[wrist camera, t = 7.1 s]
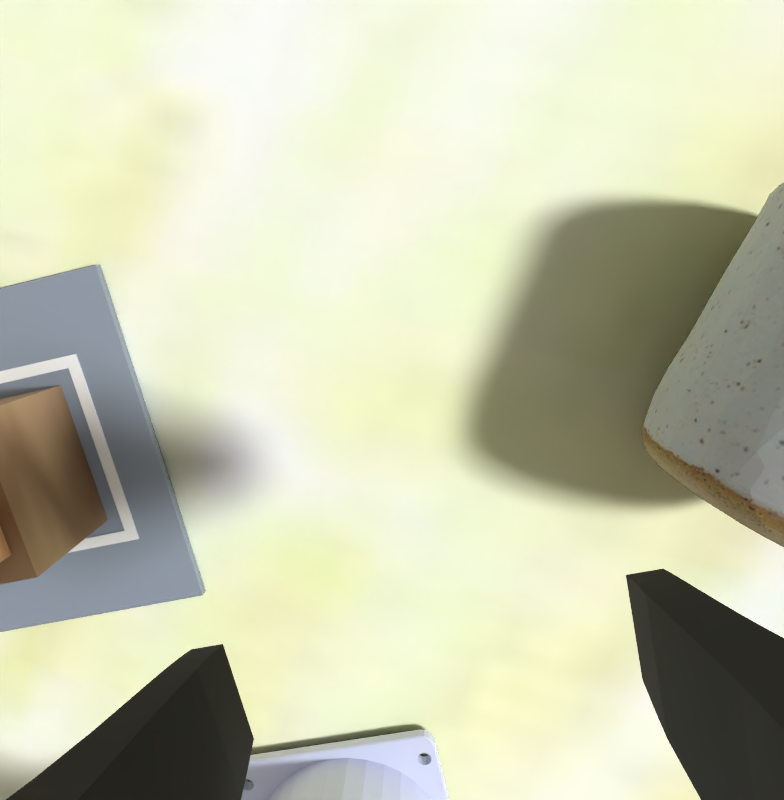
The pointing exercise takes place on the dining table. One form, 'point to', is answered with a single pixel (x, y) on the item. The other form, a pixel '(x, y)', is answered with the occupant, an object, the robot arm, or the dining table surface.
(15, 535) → the walnut block
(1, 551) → the terracotta block
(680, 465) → the grey cylinder
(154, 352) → the dining table surface
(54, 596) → the mat
